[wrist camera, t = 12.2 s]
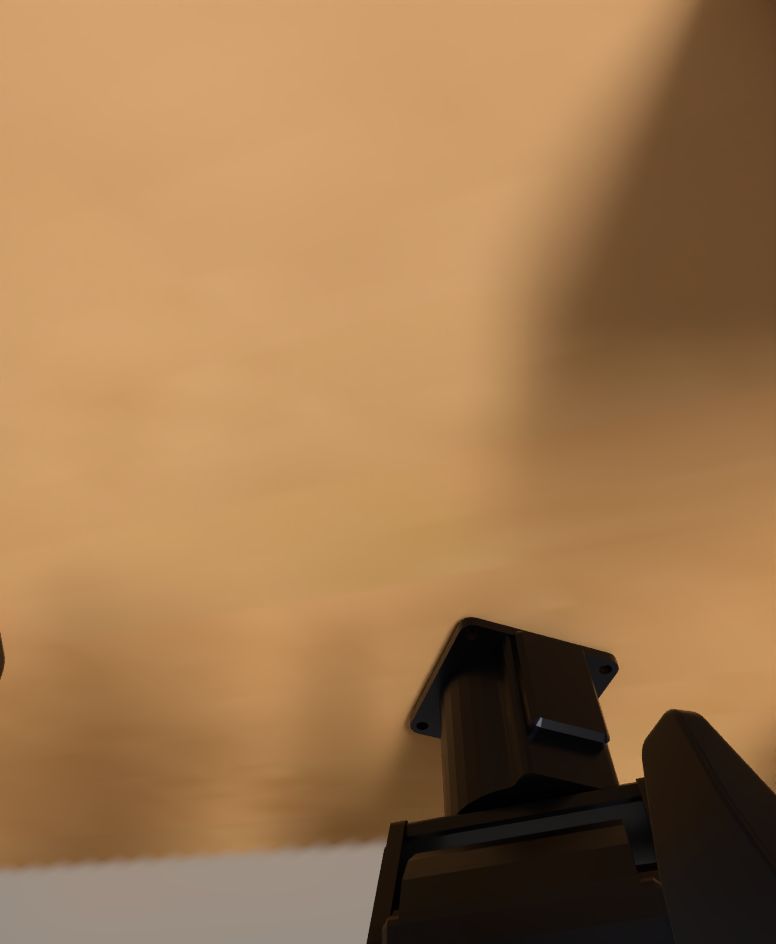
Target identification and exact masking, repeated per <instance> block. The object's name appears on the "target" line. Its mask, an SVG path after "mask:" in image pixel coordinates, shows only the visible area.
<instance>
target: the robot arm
mask: <svg viewBox="0 0 776 944" xmlns="http://www.w3.org/2000/svg"><path fill="white" fill-rule="evenodd" d="M469 630H476V631H474V632H468V631H469ZM4 664H5V656H4V650H3V645H2V639H1V634H0V679H1V676H2V673H3V669H4ZM603 665H606V666H603ZM618 670H619V668H618V664H617V661H616V658H615V657H614V656H613V655H612V654H610V653H607V652H603V651H599V650H596V649H592V648H588V647H584V646H581V645H577V644H573V643H569V642H565V641H562V640H558V639H554V638H550V637H547V636H543V635H539V634H535V633H532V632H528V631H524V630H520V629H516V628H513V627H509V626H505V625H501V624H498V623H494V622H490V621H486V620H483V619H479V618H473V617H470V618H465V619H463V620H462V621H461V622H460V623H459V624H458V626H457V628H456V630H455V632H454V634H453V636H452V638H451V640H450V642H449V643H448V645H447V647H446V649H445V651H444V653H443V655H442V657H441V659H440V661H439V663H438V665H437V666H436V668H435V670H434V672H433V674H432V676H431V678H430V680H429V682H428V684H427V686H426V687H425V689H424V691H423V693H422V695H421V697H420V699H419V701H418V703H417V705H416V707H415V709H414V710H413V712H412V714H411V718H410V727H411V729H412V730H413V731H414V732H416V733H419V734H423V735H427V736H432V737H436V738H440V739H441V750H442V770H443V790H444V811H445V817H439V818H434V819H428V820H422V821H417V822H411V823H408V821H407V820H406V821H400V822H395V823H391V824H390V829H389V834H388V840H387V845H386V847H385V849H384V853H383V859H382V864H381V870H380V875H379V880H378V886H377V891H376V896H375V901H374V907H373V912H372V918H371V922H370V928H369V933H368V938H367V944H776V795H775V793H774V792H773V791H772V790H771V789H770V788H769V787H768V786H767V785H766V784H765V783H764V782H763V781H762V779H761V778H760V777H759V776H758V775H757V774H756V773H755V772H754V771H753V770H752V769H751V768H750V767H749V765H748V764H747V763H746V762H745V761H744V760H743V759H742V758H741V757H740V756H739V755H738V754H737V753H736V751H735V750H734V749H733V748H732V747H731V746H730V745H729V744H728V743H727V742H726V741H725V740H724V739H723V737H722V736H721V735H720V734H719V733H718V732H717V731H716V730H715V729H714V728H713V727H712V726H711V725H710V724H709V722H708V721H707V720H706V719H705V718H704V717H703V716H701V715H700V714H698V713H696V712H692V711H684V710H677V709H671V710H668V711H667V712H666V713H665V714H664V715H663V716H662V717H661V719H660V720H659V722H658V723H657V724H656V726H655V727H654V728H653V730H652V731H651V732H650V734H649V735H648V736H647V738H646V739H645V741H644V744H643V748H642V763H643V770H644V777H643V778H638V779H636V782H633V783H628V784H622V785H619V782H618V778H617V775H616V772H615V768H614V765H613V761H612V758H611V755H610V751H609V748H608V744H607V743H608V742H609V741H610V736H609V733H608V730H607V727H606V723H605V720H604V717H603V713H602V710H601V707H600V703H599V700H598V698H599V697H600V696H601V694H602V693H603V691H604V690H605V689H606V687H607V686H608V685H609V683H610V682H611V680H612V679H613V678H614V676H615V675H616V674H617V672H618Z"/></svg>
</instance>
